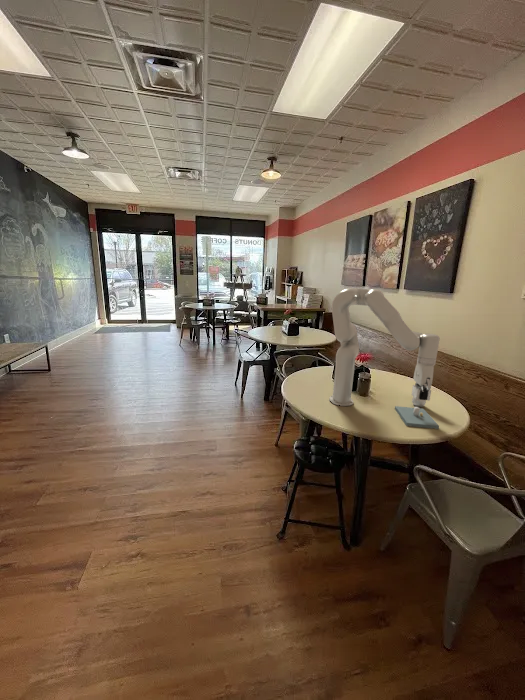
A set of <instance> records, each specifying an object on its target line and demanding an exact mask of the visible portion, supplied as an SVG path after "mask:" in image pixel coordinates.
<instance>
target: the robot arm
mask: <svg viewBox="0 0 525 700" xmlns="http://www.w3.org/2000/svg"><path fill="white" fill-rule="evenodd" d="M354 305H357V306H366V307H367V308H368V309H369V310H370V311H371V313H373V314H374V315H375V317H377V318H378V319H379V321H380V322H381V323H382V324H383V326H384V328H386V329H387V331H388V333H390V334H391V336H392V337H393V338H394V339H395V340H396V341H397V343H398V344H399V346H401V347H402V348H403V349H404V350H406V351H415V350H417V349H418V352H417V359H416V365H415V368H414V373H413V380H414V382H415V384H414V385H420V386H422V391H421V392H420V398H419V399H420V400H426V401H428V400H427V397H428V392H429V390H432V384H433V378H434V373H435V372H434V370H435V369H434V368H435V366H436V361H437V355H438V353H439V345H440V340H441V339H440V336H439V335H438V334H435V333H422V332H417V331H412V330H411V328H410V327H409V325H407V323H406V322H405V320H403V318H402V315H401V314H400V312H399V311H398V310H397V308H396V307H394V306H393V305H392V303H391V302H390V301H389V300H388V299H387V298H386V296H385V293H384V292H382V290H380V289H374V288H373V289H370V288H369V289H368V288H358V287H357V288H355V287H351V288H345V289H343V290H341V291H340V292H338V293H337V294H336V295H335V296H334V298H333V300H332V303H331V312H332V321H333V328H334V329H333V330H334V336H335V339H336V340H337V341H338V342H340V346H339V347H338V349H337V351H336V354H335V369H334V370H335V371H334V379H333V380H334V381H333V388H332V390H333V391H332V395H330V396H329V402H330V401H331V402H332V403H331V402H330V403H331V404H333V405H336V406H339V405H340V406H341V407H349V406H352V405H354V399H352V390H353V382H354V376H355V375H354V374H355V365H356V364H355V362H356V358H357V357H358V355H359V353H360V346H359V339H358V332H357V328H356V326H355V325H354V324H353V323H352V320H351V313H350V307H351V306H354ZM424 384H426V385H424ZM424 387H426V388H424Z"/></svg>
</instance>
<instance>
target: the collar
mask: <svg viewBox="0 0 525 700" xmlns="http://www.w3.org/2000/svg"><path fill="white" fill-rule="evenodd" d="M424 388H426V387H424ZM421 391H422V386H420V385H415V384H413V385H412V390H411V396H412V398H413V397H414V398H415V399H416V400H420V399H419V398H420V392H421ZM431 395H432V389H430V390H429V392H428V397H427V400H426V401H429V402H430V400H431Z"/></svg>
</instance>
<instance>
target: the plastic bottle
mask: <svg viewBox="0 0 525 700" xmlns="http://www.w3.org/2000/svg"><path fill="white" fill-rule="evenodd" d="M424 385H426V384H424ZM426 401H427V400H416V399H415V398H414V397H413V396H412V399H411V403H412V404H413V406H414V407H419V408H422V407H425V405H426V403H427V402H426Z"/></svg>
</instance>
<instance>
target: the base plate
mask: <svg viewBox="0 0 525 700" xmlns="http://www.w3.org/2000/svg"><path fill="white" fill-rule="evenodd" d="M394 410H395V411H396V413H397V414H398V417H400V419H401V420H402V421H403V423H404V425H405V426H406V427H412V428H413V427H414V428H416V427H417V428H424V429H425V428H426V429H433V428H435V429H436V430H438V429H439V428H440V425H439V424H438V422H436V420H435V419H434V418H432V416H431V415H430V414H429V413H428V412H427V411H426V410H425V409H424V408H422V407H418V406H414V407H407V406H399V405H397V406H396V405H395V406H394ZM435 429H434V430H435ZM439 430H440V429H439Z"/></svg>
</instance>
